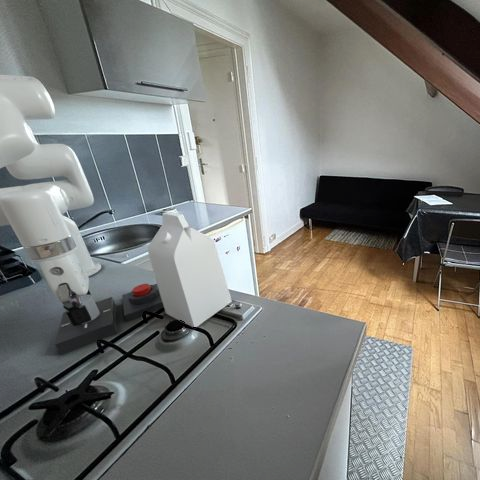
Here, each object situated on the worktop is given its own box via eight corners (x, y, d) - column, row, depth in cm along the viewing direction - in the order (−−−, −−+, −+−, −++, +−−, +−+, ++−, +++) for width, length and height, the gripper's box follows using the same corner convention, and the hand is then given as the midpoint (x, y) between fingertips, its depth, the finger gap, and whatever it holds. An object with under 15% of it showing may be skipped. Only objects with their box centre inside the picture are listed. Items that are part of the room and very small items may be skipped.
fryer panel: (68, 322, 67) (63, 312, 65) (116, 305, 72) (111, 296, 71) (61, 355, 56) (54, 344, 55) (117, 333, 62) (112, 322, 60)
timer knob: (74, 316, 64) (65, 298, 62) (100, 308, 66) (92, 290, 64) (72, 327, 60) (62, 309, 58) (99, 318, 62) (90, 300, 60)
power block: (124, 299, 75) (120, 289, 73) (163, 286, 80) (159, 276, 79) (126, 321, 66) (121, 309, 64) (170, 304, 71) (166, 293, 70)
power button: (134, 292, 72) (131, 287, 71) (150, 287, 74) (148, 282, 74) (135, 299, 69) (132, 293, 68) (152, 293, 71) (150, 287, 71)
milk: (232, 301, 71) (210, 209, 61) (194, 328, 62) (162, 225, 52) (203, 290, 77) (180, 205, 67) (165, 313, 68) (131, 218, 57)
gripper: (70, 255, 51) (103, 323, 58) (77, 232, 64) (104, 291, 71) (16, 268, 47) (58, 340, 54) (35, 241, 60) (67, 302, 67)
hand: (84, 312), depth 62 cm, fingers open, 9 cm apart
